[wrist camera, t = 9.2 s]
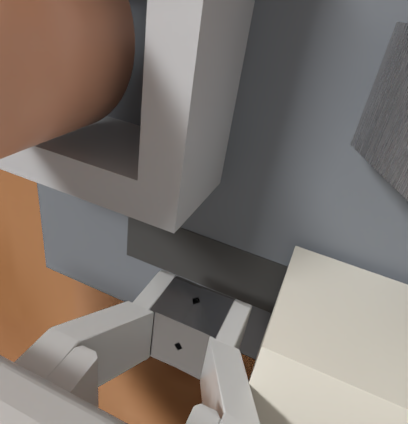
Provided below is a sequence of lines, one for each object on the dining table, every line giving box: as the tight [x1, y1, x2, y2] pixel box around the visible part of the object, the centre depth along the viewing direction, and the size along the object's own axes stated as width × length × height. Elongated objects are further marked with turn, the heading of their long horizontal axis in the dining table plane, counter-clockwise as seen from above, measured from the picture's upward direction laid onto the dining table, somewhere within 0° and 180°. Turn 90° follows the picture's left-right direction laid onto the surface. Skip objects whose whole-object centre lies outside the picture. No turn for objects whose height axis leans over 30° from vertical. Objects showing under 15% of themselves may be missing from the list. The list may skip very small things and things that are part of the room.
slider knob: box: [249, 246, 408, 424], centre depth 9 cm, size 4×4×4 cm
